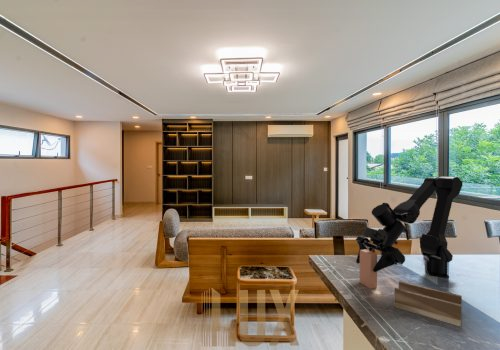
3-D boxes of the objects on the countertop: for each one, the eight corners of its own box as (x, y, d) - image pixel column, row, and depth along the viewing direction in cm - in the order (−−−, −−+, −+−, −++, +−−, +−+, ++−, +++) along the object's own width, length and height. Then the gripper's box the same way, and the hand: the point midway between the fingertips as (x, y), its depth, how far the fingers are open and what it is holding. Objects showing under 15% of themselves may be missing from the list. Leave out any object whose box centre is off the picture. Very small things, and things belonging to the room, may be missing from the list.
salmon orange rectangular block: (365, 281, 99) (366, 249, 98) (376, 287, 93) (377, 253, 93) (359, 282, 98) (359, 249, 97) (370, 288, 92) (370, 254, 92)
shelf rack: (399, 294, 88) (400, 279, 88) (461, 310, 78) (461, 294, 78) (393, 306, 80) (393, 290, 80) (460, 326, 70) (461, 308, 70)
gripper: (359, 215, 105) (335, 245, 102) (399, 224, 87) (371, 261, 84) (375, 233, 108) (352, 263, 104) (416, 246, 90) (390, 282, 87)
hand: (365, 266), depth 95 cm, fingers open, 8 cm apart
